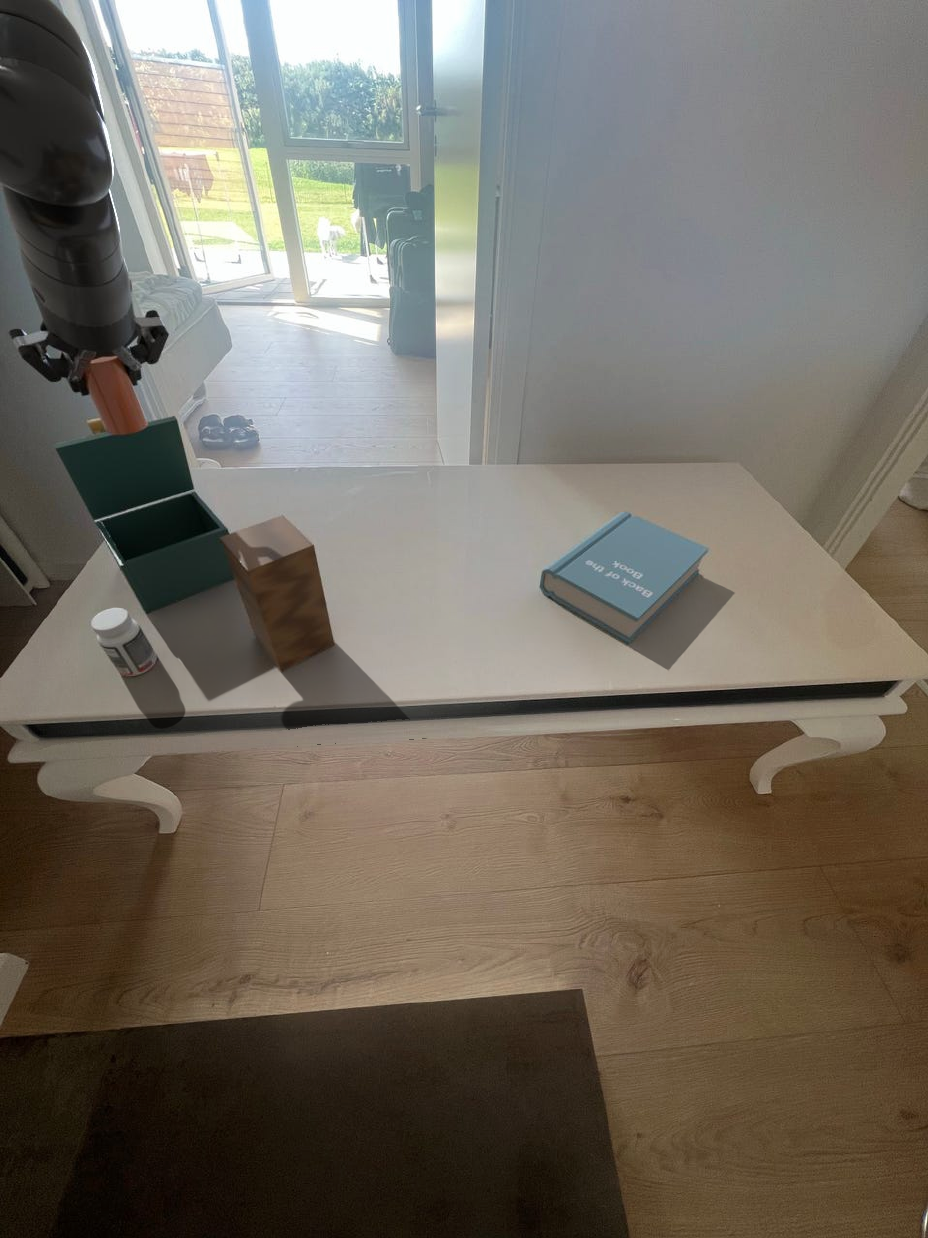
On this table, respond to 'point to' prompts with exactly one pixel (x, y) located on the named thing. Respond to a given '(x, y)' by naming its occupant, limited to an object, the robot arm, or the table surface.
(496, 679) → the table surface
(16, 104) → the robot arm
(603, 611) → the book
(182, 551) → the chest
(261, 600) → the stand
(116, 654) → the pill bottle
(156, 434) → the lid
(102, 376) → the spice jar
